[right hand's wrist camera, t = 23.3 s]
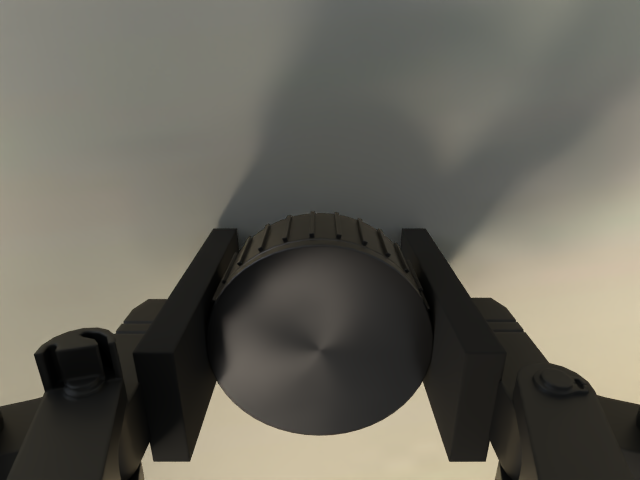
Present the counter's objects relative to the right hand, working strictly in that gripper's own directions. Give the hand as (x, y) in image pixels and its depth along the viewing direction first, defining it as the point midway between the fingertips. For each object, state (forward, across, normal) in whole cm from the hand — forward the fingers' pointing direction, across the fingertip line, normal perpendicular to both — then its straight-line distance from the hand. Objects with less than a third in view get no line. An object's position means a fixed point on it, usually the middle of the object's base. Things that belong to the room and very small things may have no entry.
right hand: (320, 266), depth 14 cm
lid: (-4, 0, 0) cm, 4 cm away
